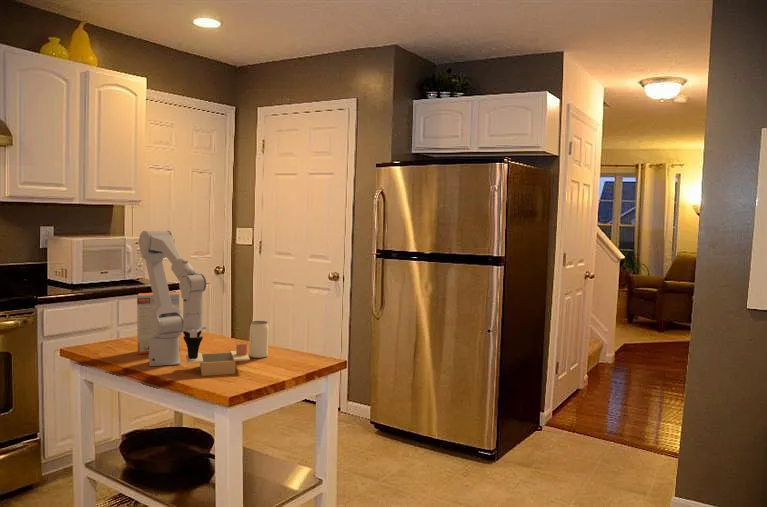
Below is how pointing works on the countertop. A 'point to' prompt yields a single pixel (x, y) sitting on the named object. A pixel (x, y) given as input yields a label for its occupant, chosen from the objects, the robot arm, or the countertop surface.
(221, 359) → the carton
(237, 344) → the right flap
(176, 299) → the cracker box
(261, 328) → the can
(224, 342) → the countertop surface
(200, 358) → the left flap
